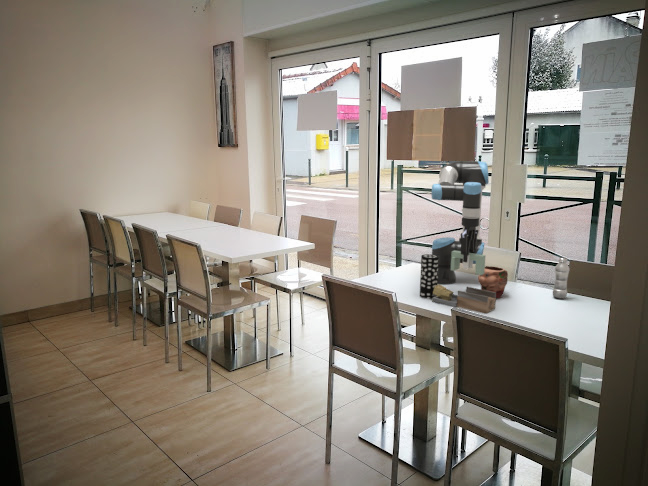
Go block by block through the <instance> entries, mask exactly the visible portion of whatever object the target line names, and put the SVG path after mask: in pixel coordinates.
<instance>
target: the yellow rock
mask: <svg viewBox="0 0 648 486" xmlns="http://www.w3.org/2000/svg"><path fill="white" fill-rule="evenodd" d="M444 289H447V287H446V286H444V285H443V284H438V285H436V286H435V288H434V291H433V294H435V295H437V296H438V297H440V296H441V292H442V290H444Z"/></svg>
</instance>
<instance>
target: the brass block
mask: <svg viewBox="0 0 648 486" xmlns="http://www.w3.org/2000/svg"><path fill="white" fill-rule="evenodd" d="M453 294H454V291H452V290H450V289H448V288H446V289H444V290H442V292H441V296H440V298H441V299H443V300H447V301H449V300H451V298H452V295H453Z"/></svg>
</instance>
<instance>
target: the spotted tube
mask: <svg viewBox="0 0 648 486" xmlns="http://www.w3.org/2000/svg"><path fill="white" fill-rule="evenodd" d="M420 257H421V259H420V276H419V277H420V282H419V297H421V298H423V299H429V300H430V299H431V300H432V298H433V297H435V296H437V295H435V294H433V291H434V288H435V286H436V285H438V267H439V256H437V255H432V253H431V254H427V253H426V254H425V253H424V254H422V255H421V256H420Z"/></svg>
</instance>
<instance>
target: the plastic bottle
mask: <svg viewBox="0 0 648 486" xmlns="http://www.w3.org/2000/svg"><path fill="white" fill-rule="evenodd" d="M554 270H555V271H554V273H555V276H554V287H553V289H552V296H553V298H555V299H562V300H563V299H566V297H567V295H568V289H567V287H568V285H567V284H568V278H569V274H570V266H569V265H568V257H565V256H560V257H559V258H558V263H557V264H556V265H555V267H554Z"/></svg>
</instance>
